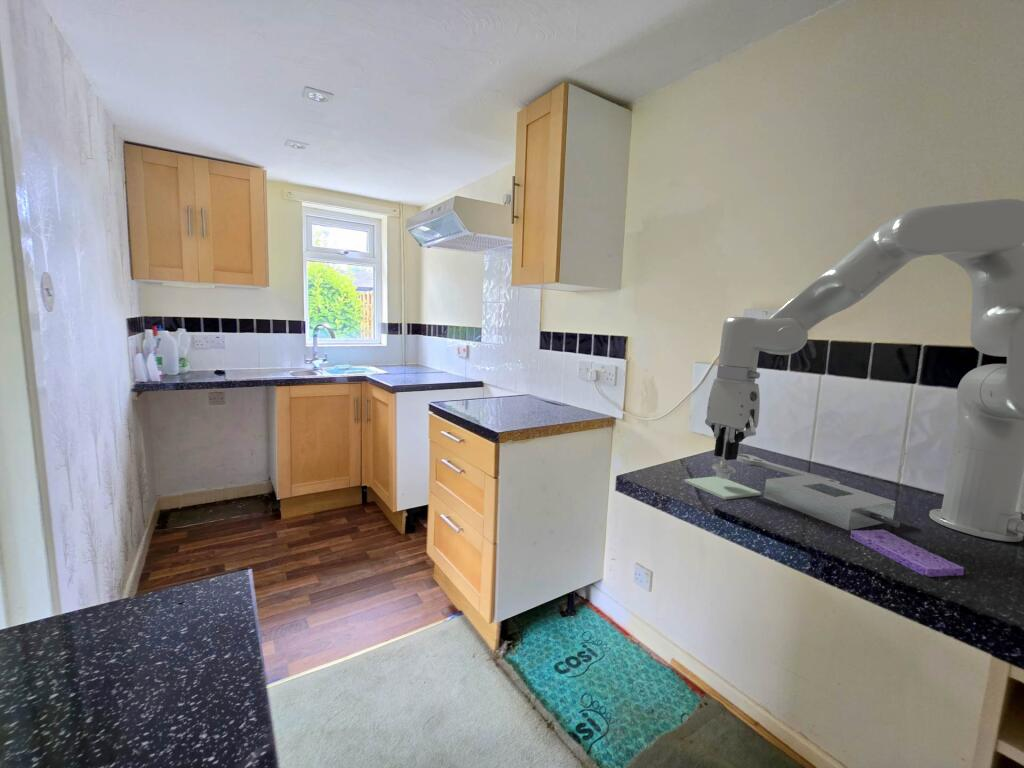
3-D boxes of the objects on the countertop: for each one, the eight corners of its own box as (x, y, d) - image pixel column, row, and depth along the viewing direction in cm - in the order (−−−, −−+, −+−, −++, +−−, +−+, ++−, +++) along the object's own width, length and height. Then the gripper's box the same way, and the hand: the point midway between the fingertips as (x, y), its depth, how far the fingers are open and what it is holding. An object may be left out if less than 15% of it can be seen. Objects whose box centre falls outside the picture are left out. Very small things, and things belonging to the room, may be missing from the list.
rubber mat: (760, 494, 97) (761, 492, 97) (724, 499, 92) (725, 496, 92) (718, 478, 107) (718, 476, 106) (684, 481, 102) (684, 479, 102)
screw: (721, 472, 102) (739, 479, 98) (705, 474, 100) (723, 481, 96) (728, 417, 101) (747, 421, 96) (713, 417, 99) (731, 422, 94)
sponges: (882, 539, 79) (884, 529, 78) (964, 579, 66) (967, 567, 66) (848, 539, 77) (849, 529, 77) (925, 580, 65) (928, 568, 65)
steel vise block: (917, 530, 83) (921, 509, 82) (873, 540, 77) (877, 518, 76) (806, 491, 101) (809, 474, 101) (763, 497, 95) (766, 479, 95)
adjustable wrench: (841, 488, 108) (842, 481, 107) (827, 491, 104) (829, 484, 104) (744, 458, 129) (745, 452, 129) (730, 460, 126) (731, 454, 126)
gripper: (782, 379, 91) (770, 467, 93) (718, 371, 105) (708, 447, 107) (757, 379, 88) (745, 469, 90) (694, 370, 102) (685, 448, 104)
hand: (725, 457), depth 98 cm, fingers closed on screw, 2 cm apart
